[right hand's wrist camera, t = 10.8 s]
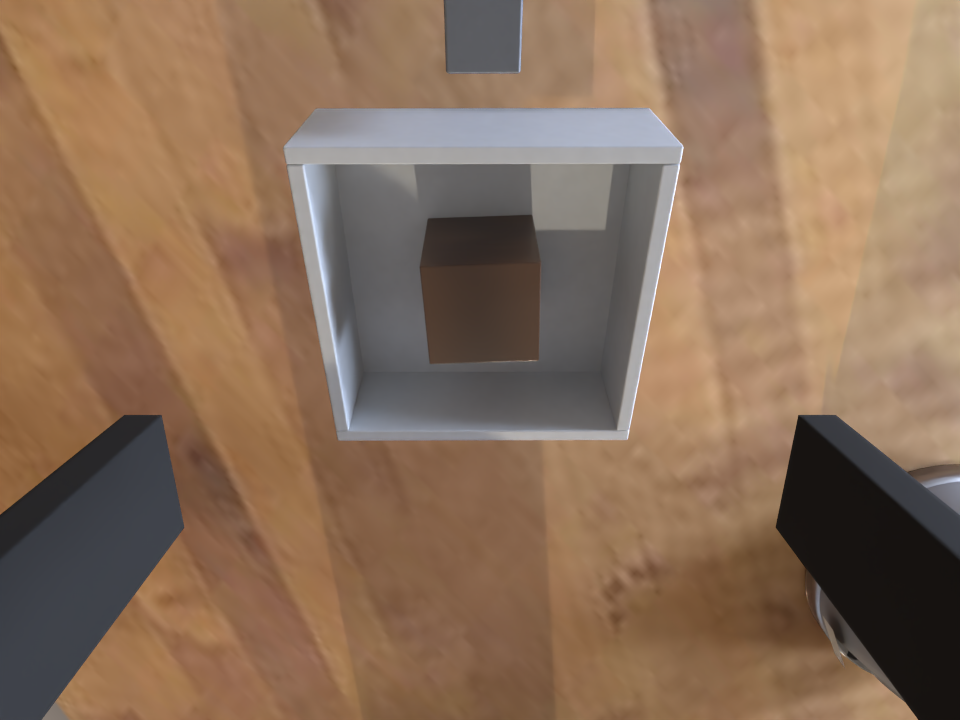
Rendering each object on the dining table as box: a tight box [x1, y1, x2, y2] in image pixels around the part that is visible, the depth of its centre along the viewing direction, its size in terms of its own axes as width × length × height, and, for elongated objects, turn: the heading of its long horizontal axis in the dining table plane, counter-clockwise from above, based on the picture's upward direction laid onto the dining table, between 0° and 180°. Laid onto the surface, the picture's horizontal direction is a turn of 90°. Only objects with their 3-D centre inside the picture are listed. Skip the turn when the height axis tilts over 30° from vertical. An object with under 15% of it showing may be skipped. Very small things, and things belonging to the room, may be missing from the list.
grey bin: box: [283, 0, 683, 440], centre depth 22 cm, size 25×13×5 cm, turn 1°
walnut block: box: [420, 215, 541, 364], centre depth 26 cm, size 4×4×4 cm
